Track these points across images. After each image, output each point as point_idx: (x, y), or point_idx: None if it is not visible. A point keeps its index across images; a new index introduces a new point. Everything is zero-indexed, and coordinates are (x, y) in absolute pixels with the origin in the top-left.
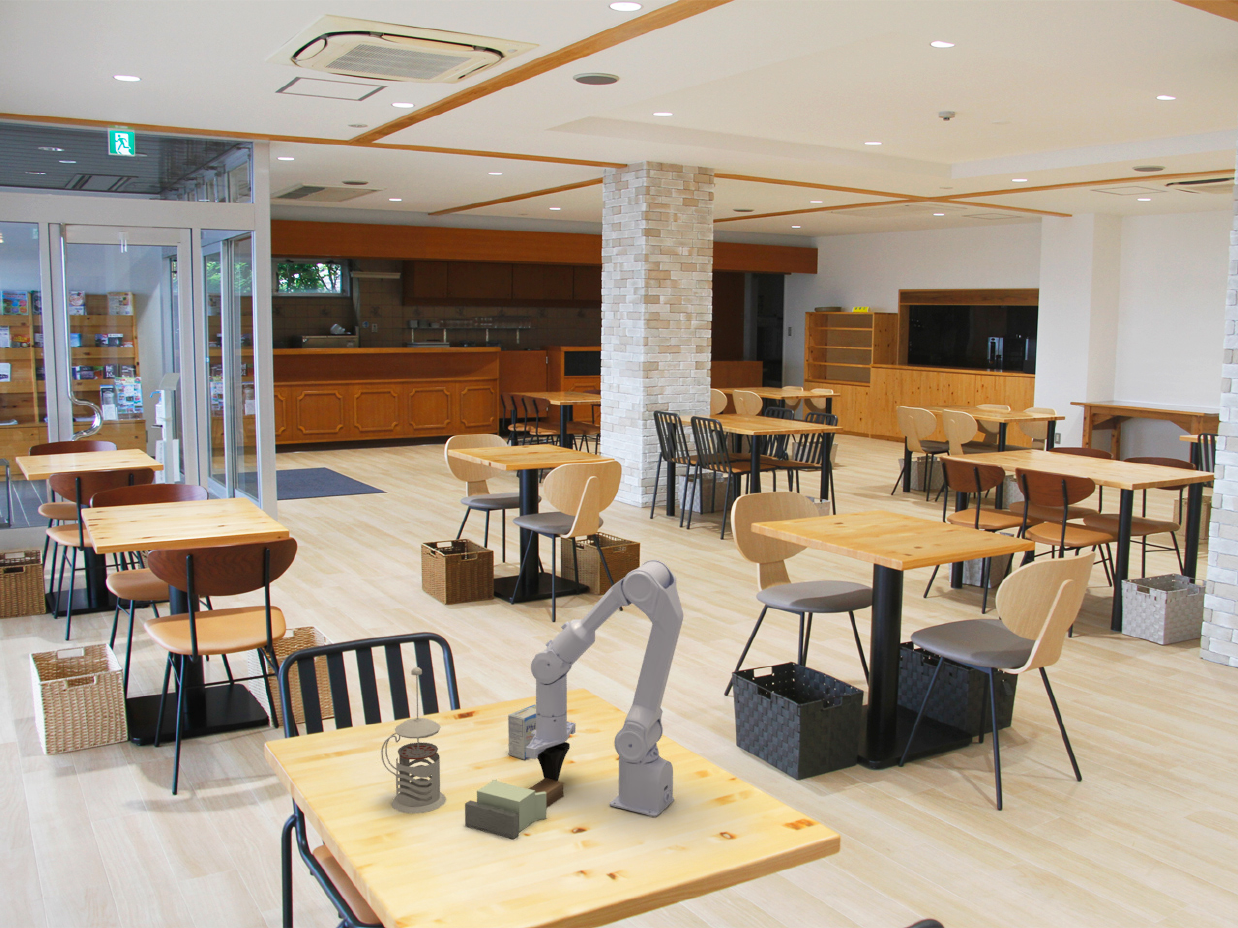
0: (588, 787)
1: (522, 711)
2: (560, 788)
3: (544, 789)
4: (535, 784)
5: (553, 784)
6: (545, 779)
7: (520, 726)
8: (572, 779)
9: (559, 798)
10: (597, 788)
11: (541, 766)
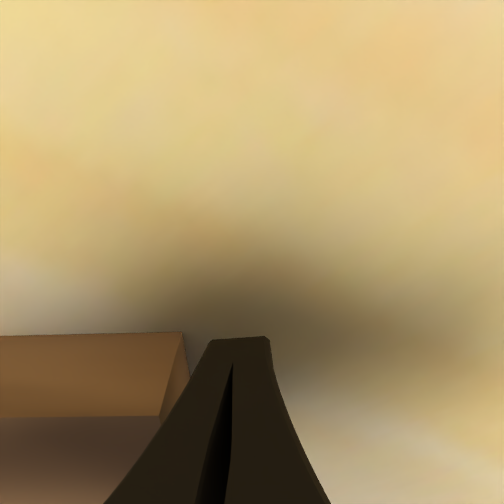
0: (379, 467)
1: None
2: None
3: (11, 491)
4: (8, 418)
5: None
6: (133, 429)
7: None
8: (445, 364)
9: None
10: (390, 497)
11: (140, 461)
